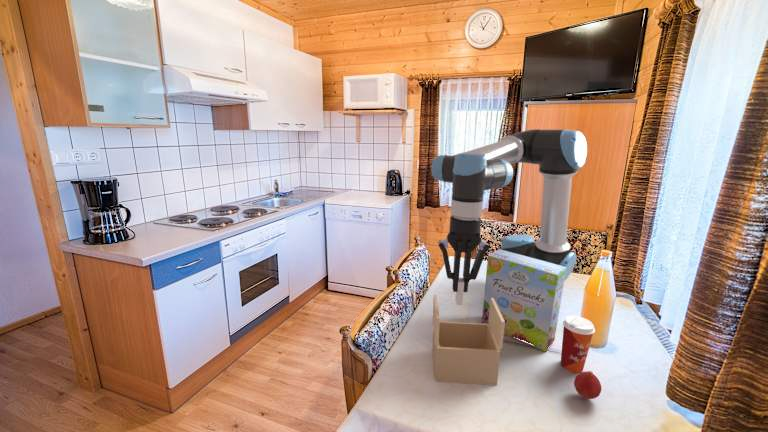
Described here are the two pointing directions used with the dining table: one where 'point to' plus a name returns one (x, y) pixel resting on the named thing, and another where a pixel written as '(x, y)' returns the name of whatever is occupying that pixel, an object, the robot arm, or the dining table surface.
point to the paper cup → (576, 343)
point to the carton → (466, 354)
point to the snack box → (525, 296)
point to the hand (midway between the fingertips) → (458, 302)
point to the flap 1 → (436, 320)
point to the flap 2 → (496, 323)
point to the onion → (587, 385)
